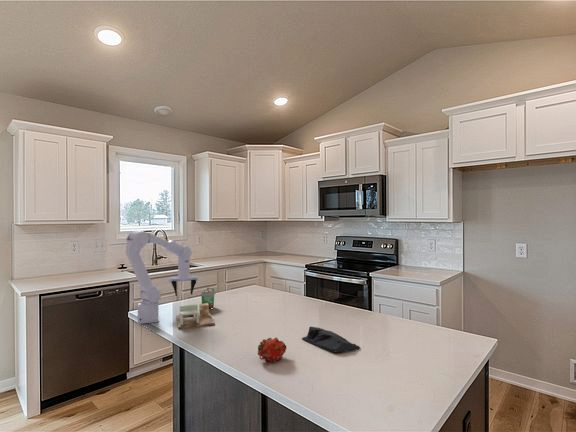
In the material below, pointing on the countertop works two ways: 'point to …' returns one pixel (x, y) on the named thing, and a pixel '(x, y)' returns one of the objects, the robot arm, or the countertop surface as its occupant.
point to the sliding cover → (189, 312)
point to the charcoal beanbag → (329, 340)
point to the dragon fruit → (271, 349)
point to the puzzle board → (191, 322)
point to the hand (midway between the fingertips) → (183, 294)
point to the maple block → (204, 309)
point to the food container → (208, 297)
